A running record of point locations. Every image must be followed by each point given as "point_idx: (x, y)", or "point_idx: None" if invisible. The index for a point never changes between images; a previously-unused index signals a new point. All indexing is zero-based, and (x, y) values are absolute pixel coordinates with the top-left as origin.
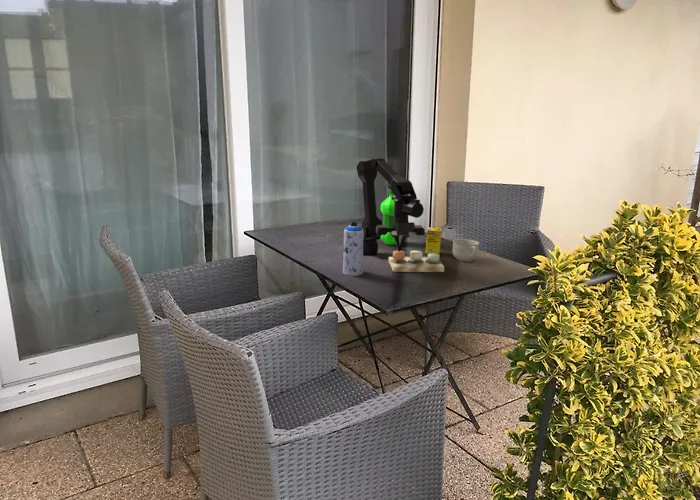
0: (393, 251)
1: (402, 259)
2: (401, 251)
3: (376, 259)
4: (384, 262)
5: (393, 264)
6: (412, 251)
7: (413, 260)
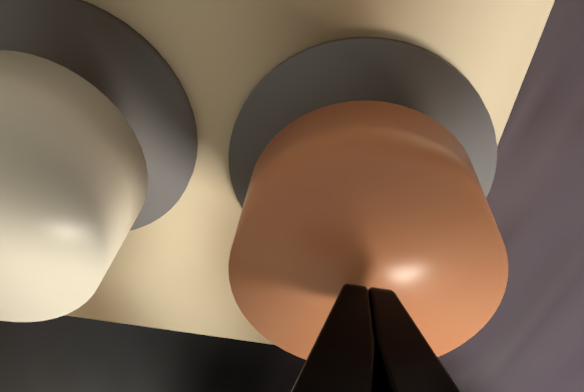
0: (469, 330)
1: None
2: (295, 308)
3: (505, 383)
4: None
5: (529, 14)
6: (57, 276)
7: None
